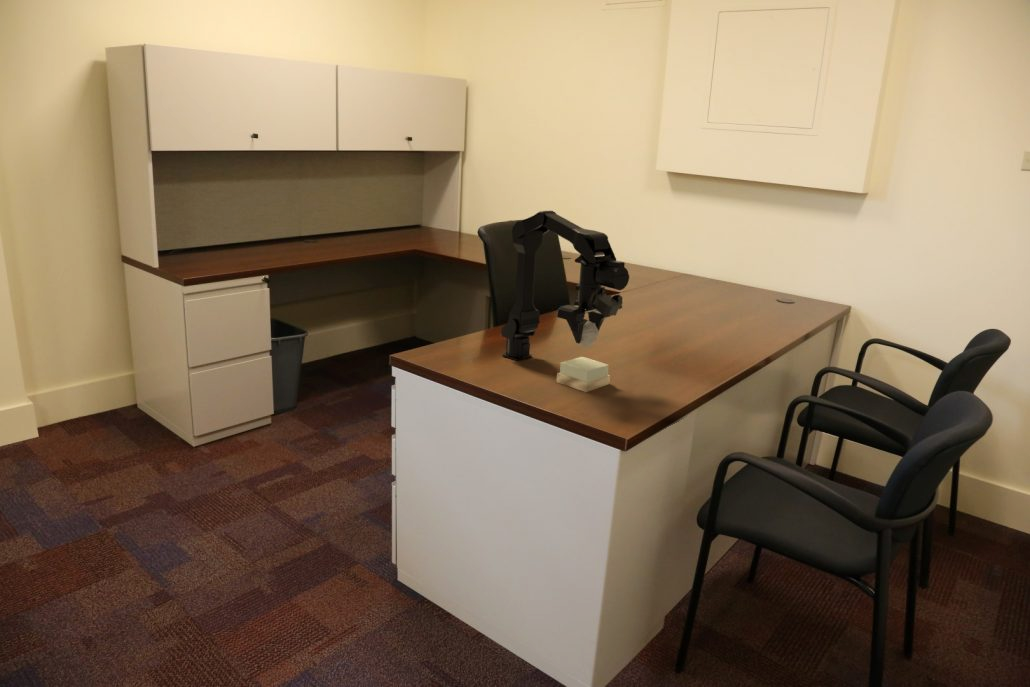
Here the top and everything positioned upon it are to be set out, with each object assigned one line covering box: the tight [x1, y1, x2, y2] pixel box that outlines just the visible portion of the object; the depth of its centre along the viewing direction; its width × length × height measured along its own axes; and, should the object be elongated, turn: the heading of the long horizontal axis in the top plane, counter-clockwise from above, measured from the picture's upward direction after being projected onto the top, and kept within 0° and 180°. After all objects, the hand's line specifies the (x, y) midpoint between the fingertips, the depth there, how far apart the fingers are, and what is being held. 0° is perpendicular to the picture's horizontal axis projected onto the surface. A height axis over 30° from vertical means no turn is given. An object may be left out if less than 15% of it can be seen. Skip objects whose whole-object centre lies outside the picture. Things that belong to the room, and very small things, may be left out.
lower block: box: [556, 372, 611, 393], centre depth 191 cm, size 10×10×3 cm
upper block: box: [559, 356, 610, 383], centre depth 190 cm, size 9×9×3 cm
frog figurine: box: [579, 320, 599, 348], centre depth 187 cm, size 6×7×7 cm
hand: (585, 341), depth 188 cm, fingers closed on frog figurine, 6 cm apart
